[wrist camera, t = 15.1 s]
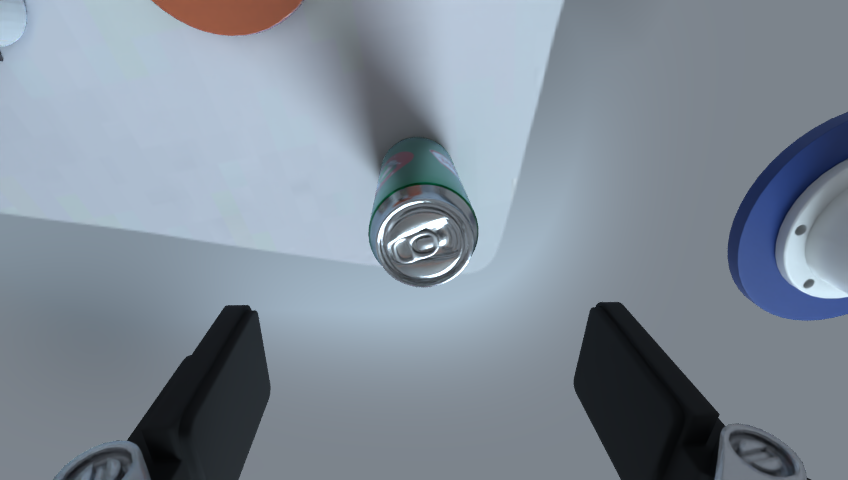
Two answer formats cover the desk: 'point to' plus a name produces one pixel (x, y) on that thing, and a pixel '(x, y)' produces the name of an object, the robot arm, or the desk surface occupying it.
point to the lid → (230, 14)
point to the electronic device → (11, 21)
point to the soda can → (421, 215)
